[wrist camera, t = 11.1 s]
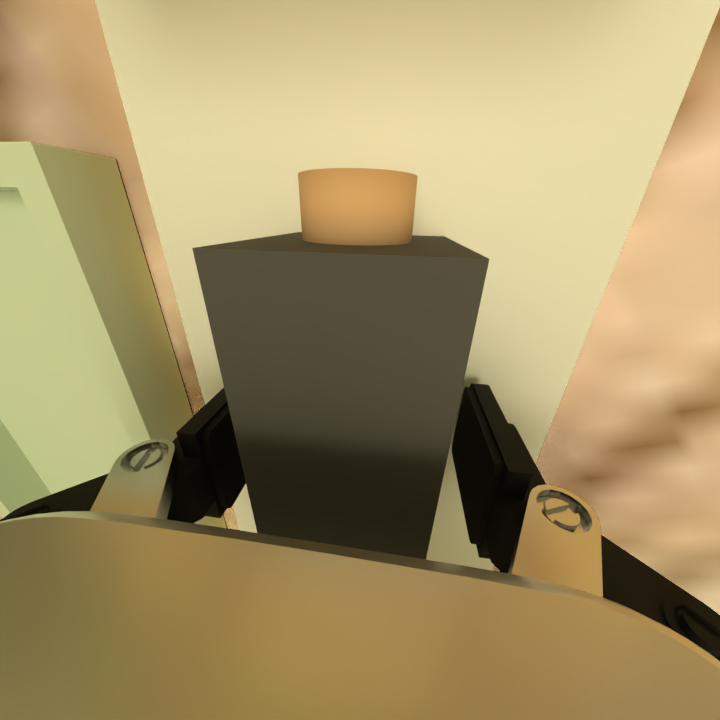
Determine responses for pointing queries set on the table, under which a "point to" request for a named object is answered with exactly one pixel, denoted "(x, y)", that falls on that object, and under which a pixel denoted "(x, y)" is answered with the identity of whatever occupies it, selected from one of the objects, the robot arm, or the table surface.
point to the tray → (76, 327)
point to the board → (416, 153)
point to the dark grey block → (345, 361)
